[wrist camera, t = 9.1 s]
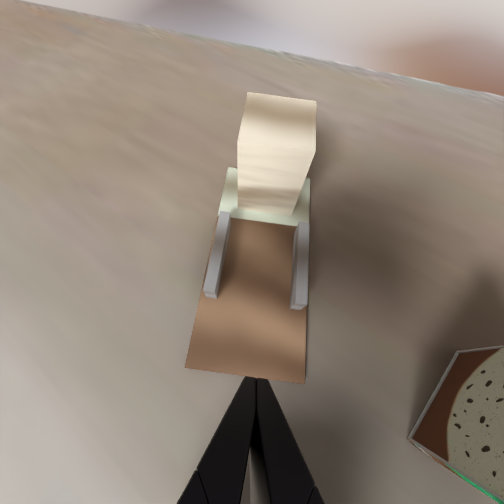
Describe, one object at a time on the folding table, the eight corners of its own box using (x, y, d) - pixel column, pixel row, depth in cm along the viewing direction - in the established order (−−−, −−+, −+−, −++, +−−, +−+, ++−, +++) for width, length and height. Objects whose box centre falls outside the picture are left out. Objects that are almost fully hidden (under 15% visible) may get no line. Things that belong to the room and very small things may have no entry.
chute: (302, 383, 20) (313, 387, 17) (186, 367, 20) (177, 368, 17) (308, 182, 29) (316, 162, 26) (228, 172, 29) (227, 150, 26)
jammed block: (291, 216, 26) (315, 151, 18) (237, 208, 26) (237, 140, 18) (293, 174, 29) (316, 101, 21) (244, 168, 29) (247, 91, 21)
